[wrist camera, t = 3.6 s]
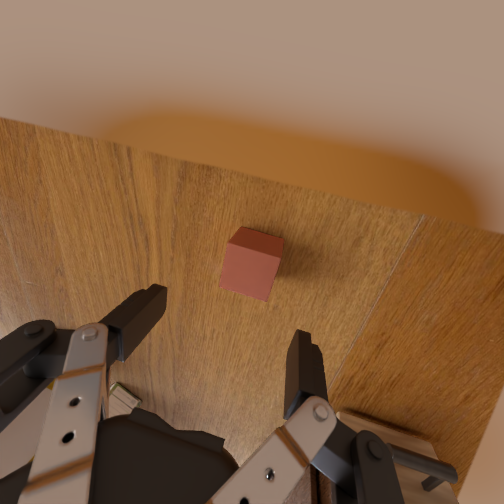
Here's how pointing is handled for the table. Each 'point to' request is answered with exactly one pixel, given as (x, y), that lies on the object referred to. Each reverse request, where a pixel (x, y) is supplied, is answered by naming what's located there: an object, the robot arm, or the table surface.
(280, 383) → the table surface
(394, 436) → the drawer
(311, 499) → the cabinet
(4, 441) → the soap bottle
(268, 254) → the block
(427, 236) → the table surface
